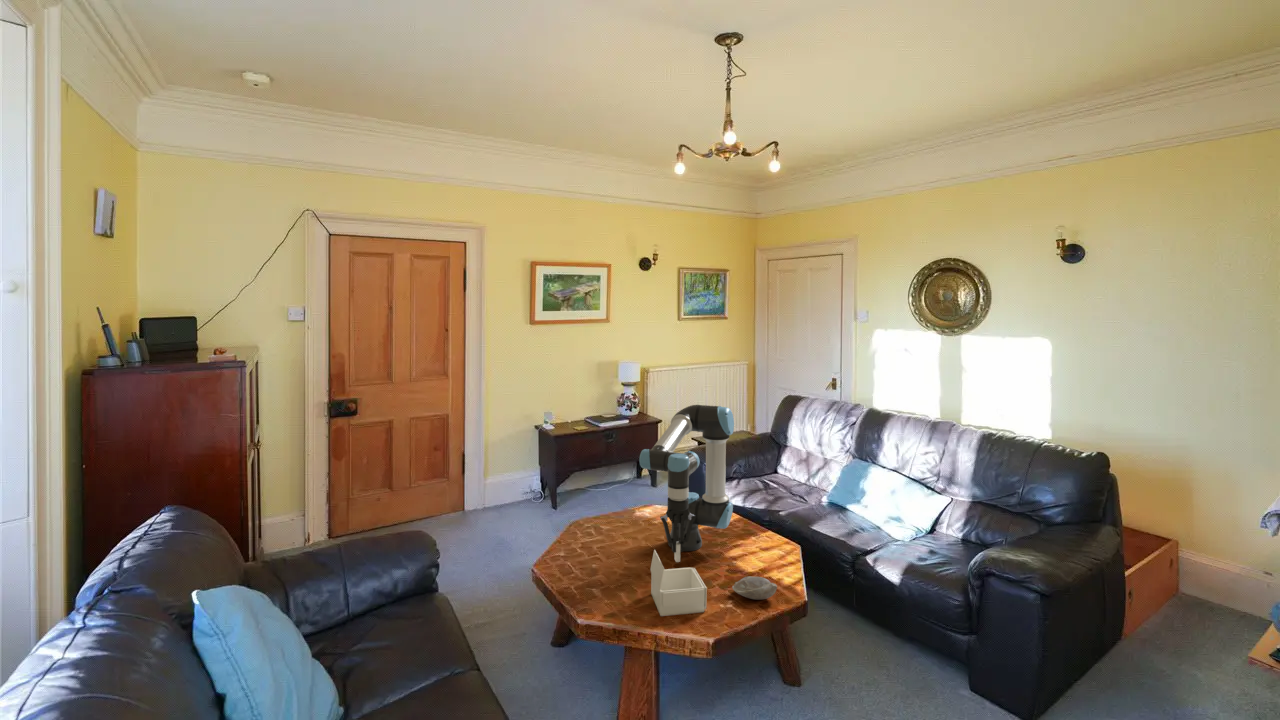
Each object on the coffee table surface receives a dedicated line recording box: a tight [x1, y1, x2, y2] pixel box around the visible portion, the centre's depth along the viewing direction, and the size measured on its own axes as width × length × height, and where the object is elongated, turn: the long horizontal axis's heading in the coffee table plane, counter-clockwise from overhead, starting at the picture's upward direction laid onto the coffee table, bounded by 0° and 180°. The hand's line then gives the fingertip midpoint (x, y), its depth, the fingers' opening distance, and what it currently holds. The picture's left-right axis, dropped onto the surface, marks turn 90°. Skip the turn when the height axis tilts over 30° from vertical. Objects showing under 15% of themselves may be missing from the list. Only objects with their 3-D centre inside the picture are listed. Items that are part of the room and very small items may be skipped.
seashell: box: [731, 575, 778, 600], centre depth 222 cm, size 9×12×15 cm
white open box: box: [650, 567, 708, 617], centre depth 218 cm, size 17×18×9 cm
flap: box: [650, 549, 665, 590], centre depth 216 cm, size 8×16×1 cm
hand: (677, 560), depth 217 cm, fingers closed
